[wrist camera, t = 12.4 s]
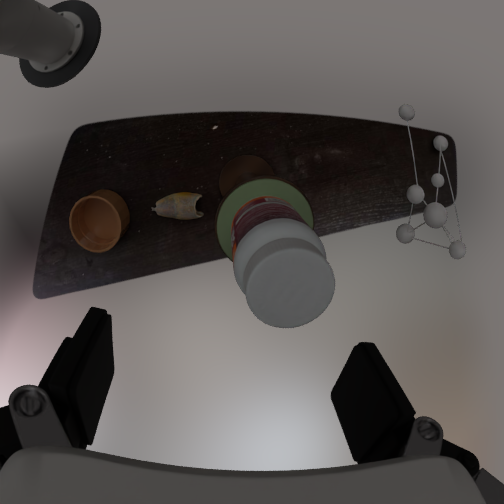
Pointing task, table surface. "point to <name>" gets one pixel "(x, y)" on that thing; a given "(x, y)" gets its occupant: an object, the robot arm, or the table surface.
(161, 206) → the cream hollow shell
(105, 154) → the table surface
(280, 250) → the pill bottle
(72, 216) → the bowl
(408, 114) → the molecule model
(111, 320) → the robot arm
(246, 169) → the stand
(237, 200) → the coaster
